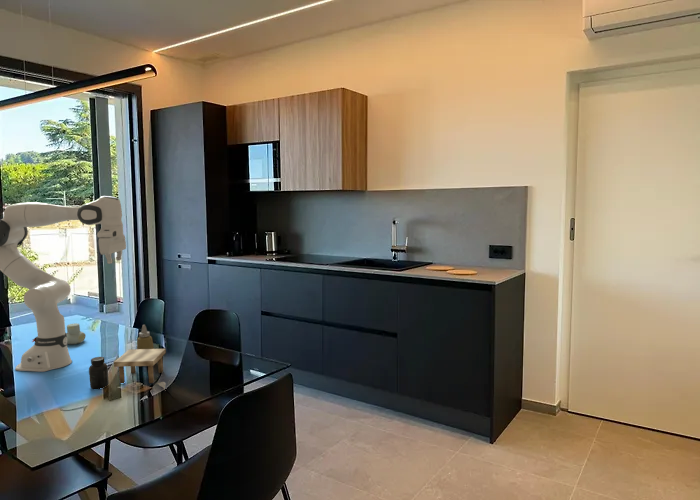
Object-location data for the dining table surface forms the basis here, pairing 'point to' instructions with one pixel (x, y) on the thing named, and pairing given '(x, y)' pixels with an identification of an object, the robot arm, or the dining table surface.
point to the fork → (162, 384)
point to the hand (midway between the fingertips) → (114, 262)
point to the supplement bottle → (98, 373)
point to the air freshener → (74, 334)
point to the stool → (140, 361)
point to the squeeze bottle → (144, 339)
